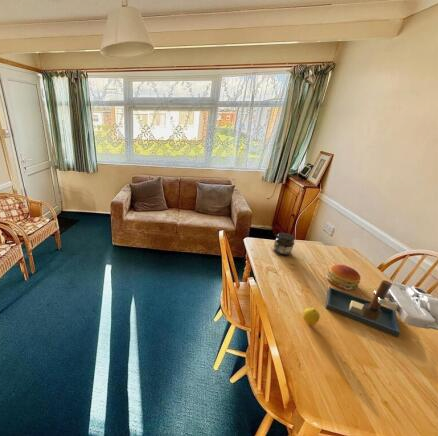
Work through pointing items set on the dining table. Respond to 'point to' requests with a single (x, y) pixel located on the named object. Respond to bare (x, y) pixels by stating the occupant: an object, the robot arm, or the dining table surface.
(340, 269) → the burger
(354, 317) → the tray
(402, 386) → the dining table surface
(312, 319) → the lemon
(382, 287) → the brush
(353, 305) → the cream block
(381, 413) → the dining table surface
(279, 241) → the supplement container
